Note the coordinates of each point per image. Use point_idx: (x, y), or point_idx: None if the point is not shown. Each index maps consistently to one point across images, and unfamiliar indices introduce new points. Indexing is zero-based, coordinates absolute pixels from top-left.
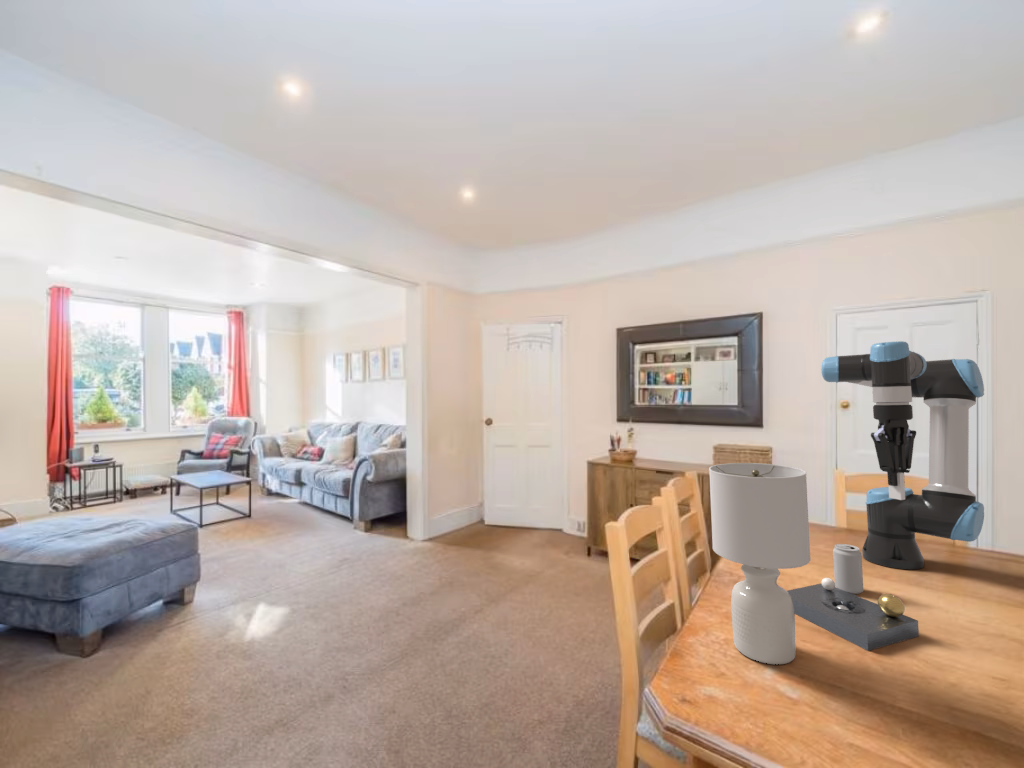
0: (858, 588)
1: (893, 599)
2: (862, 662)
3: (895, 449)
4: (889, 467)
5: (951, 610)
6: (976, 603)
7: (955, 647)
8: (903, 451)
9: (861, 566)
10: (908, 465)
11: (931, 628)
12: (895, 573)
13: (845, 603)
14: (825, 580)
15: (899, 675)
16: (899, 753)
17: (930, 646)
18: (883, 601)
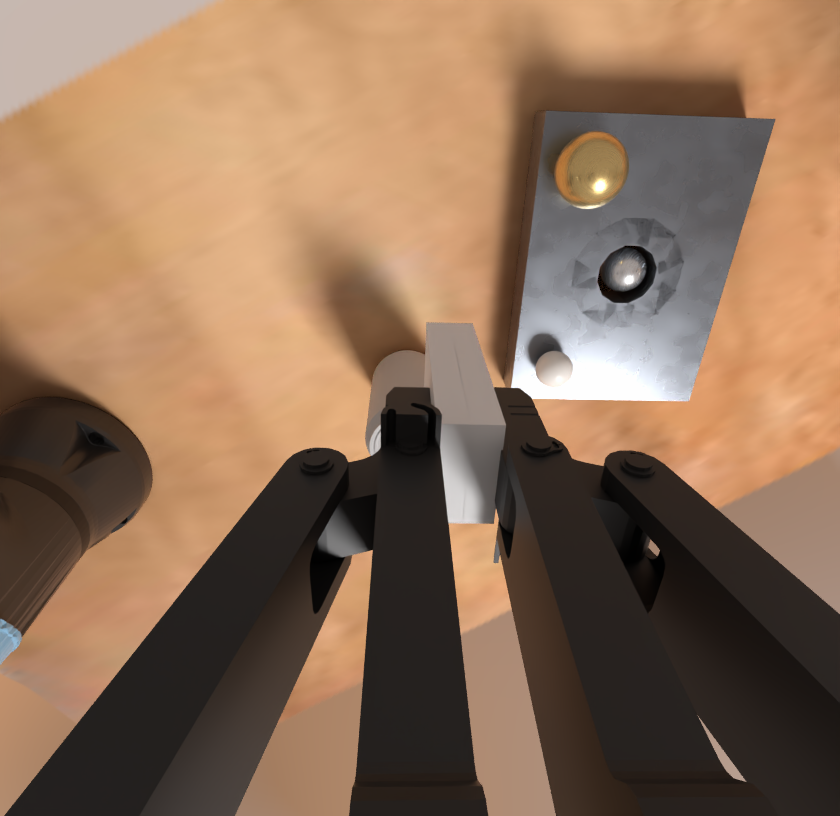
0: (415, 355)
1: (617, 154)
2: (826, 84)
3: (654, 695)
4: (680, 484)
5: (263, 176)
6: (133, 173)
7: (515, 18)
8: (416, 642)
9: (395, 384)
10: (329, 475)
11: (447, 127)
12: (158, 403)
13: (597, 285)
14: (570, 373)
15: None
16: None
17: (572, 57)
18: (626, 176)
